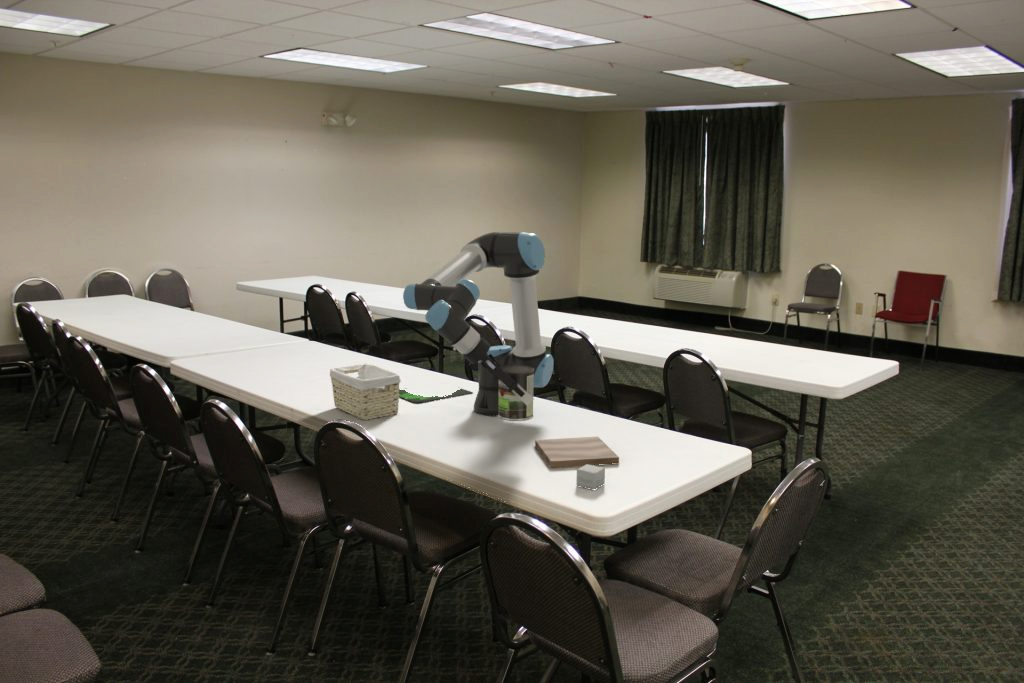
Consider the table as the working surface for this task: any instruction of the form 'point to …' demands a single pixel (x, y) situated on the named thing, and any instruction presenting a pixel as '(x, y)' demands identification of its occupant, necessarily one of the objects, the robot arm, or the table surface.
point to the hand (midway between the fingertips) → (526, 397)
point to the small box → (590, 476)
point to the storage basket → (365, 391)
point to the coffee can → (508, 401)
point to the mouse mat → (422, 399)
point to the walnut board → (575, 452)
